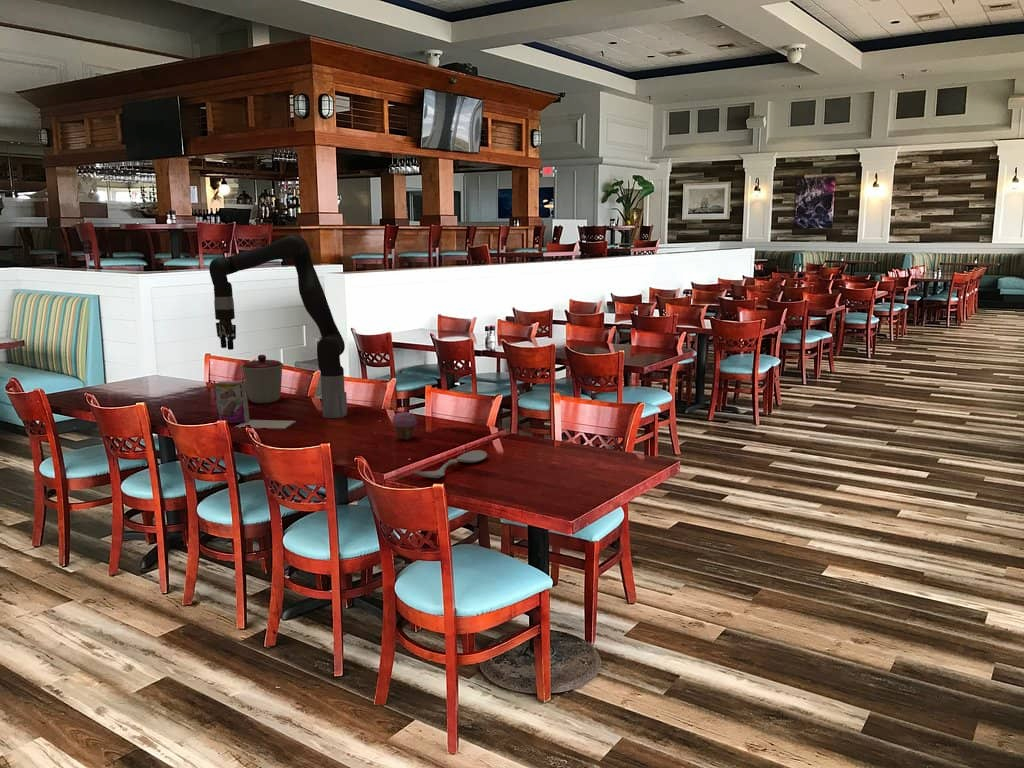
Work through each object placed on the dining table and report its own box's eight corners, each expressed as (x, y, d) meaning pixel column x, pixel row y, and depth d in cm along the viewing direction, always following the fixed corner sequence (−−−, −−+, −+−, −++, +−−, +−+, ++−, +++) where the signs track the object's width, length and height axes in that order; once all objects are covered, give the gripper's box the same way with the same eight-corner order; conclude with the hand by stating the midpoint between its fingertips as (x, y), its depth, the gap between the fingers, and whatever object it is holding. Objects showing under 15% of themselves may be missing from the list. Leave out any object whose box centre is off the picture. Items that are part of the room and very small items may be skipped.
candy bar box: (218, 424, 325) (213, 383, 322) (223, 421, 330) (218, 381, 327) (245, 423, 323) (240, 382, 320) (250, 420, 328) (245, 380, 325)
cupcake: (410, 442, 295) (409, 415, 293) (388, 440, 298) (387, 413, 296) (421, 436, 303) (420, 410, 301) (400, 434, 306) (399, 408, 304)
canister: (242, 406, 356) (238, 358, 352) (245, 398, 374) (241, 352, 370) (285, 404, 361) (282, 356, 357) (286, 396, 378) (283, 351, 374)
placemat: (296, 421, 328) (296, 420, 328) (284, 429, 316) (284, 428, 316) (248, 420, 330) (248, 419, 330) (234, 427, 318) (234, 426, 318)
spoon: (412, 481, 251) (412, 470, 250) (469, 455, 278) (469, 445, 277) (437, 485, 246) (436, 474, 245) (492, 459, 273) (492, 449, 273)
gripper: (207, 307, 336) (211, 347, 340) (223, 309, 326) (226, 351, 329) (225, 305, 341) (228, 346, 345) (241, 308, 331) (243, 349, 334)
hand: (227, 348), depth 337 cm, fingers open, 5 cm apart
